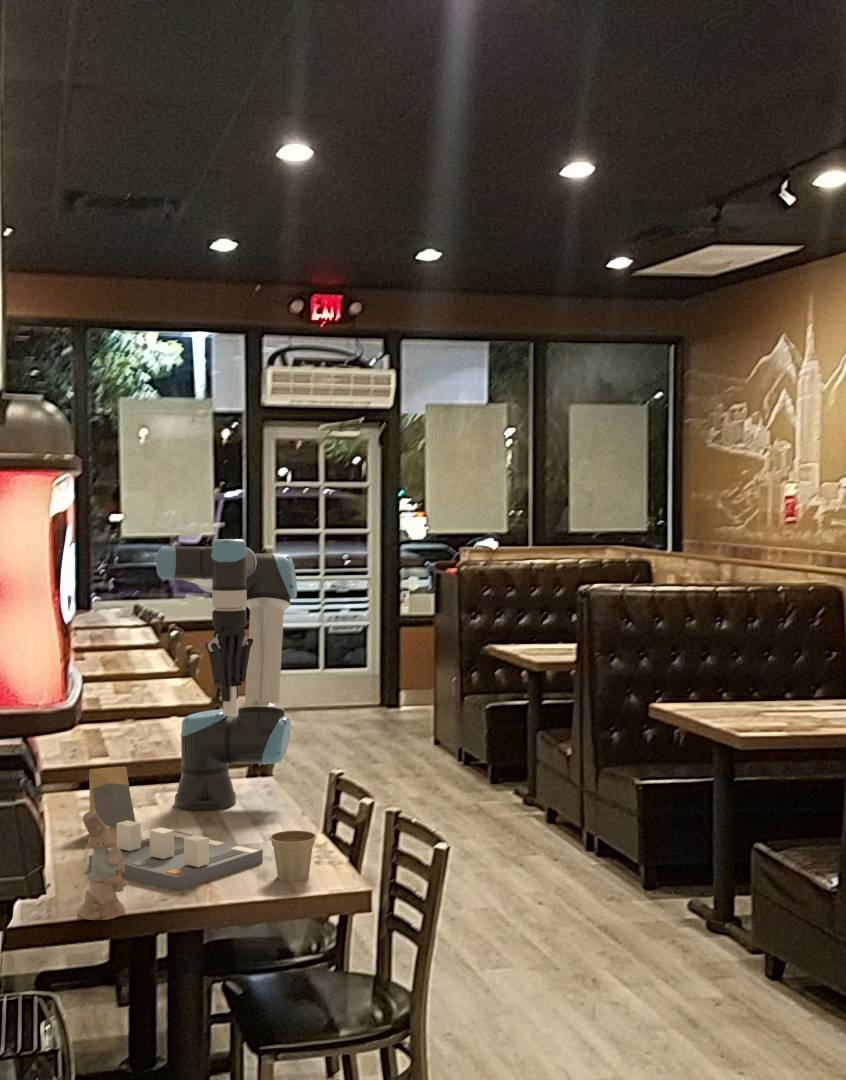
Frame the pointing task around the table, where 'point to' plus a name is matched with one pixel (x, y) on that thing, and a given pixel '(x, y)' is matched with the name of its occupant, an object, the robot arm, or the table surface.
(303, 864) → the flower pot
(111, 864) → the figurine
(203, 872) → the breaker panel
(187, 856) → the white upright block
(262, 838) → the table surface
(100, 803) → the sandwich container
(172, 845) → the middle handle
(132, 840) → the side handle
